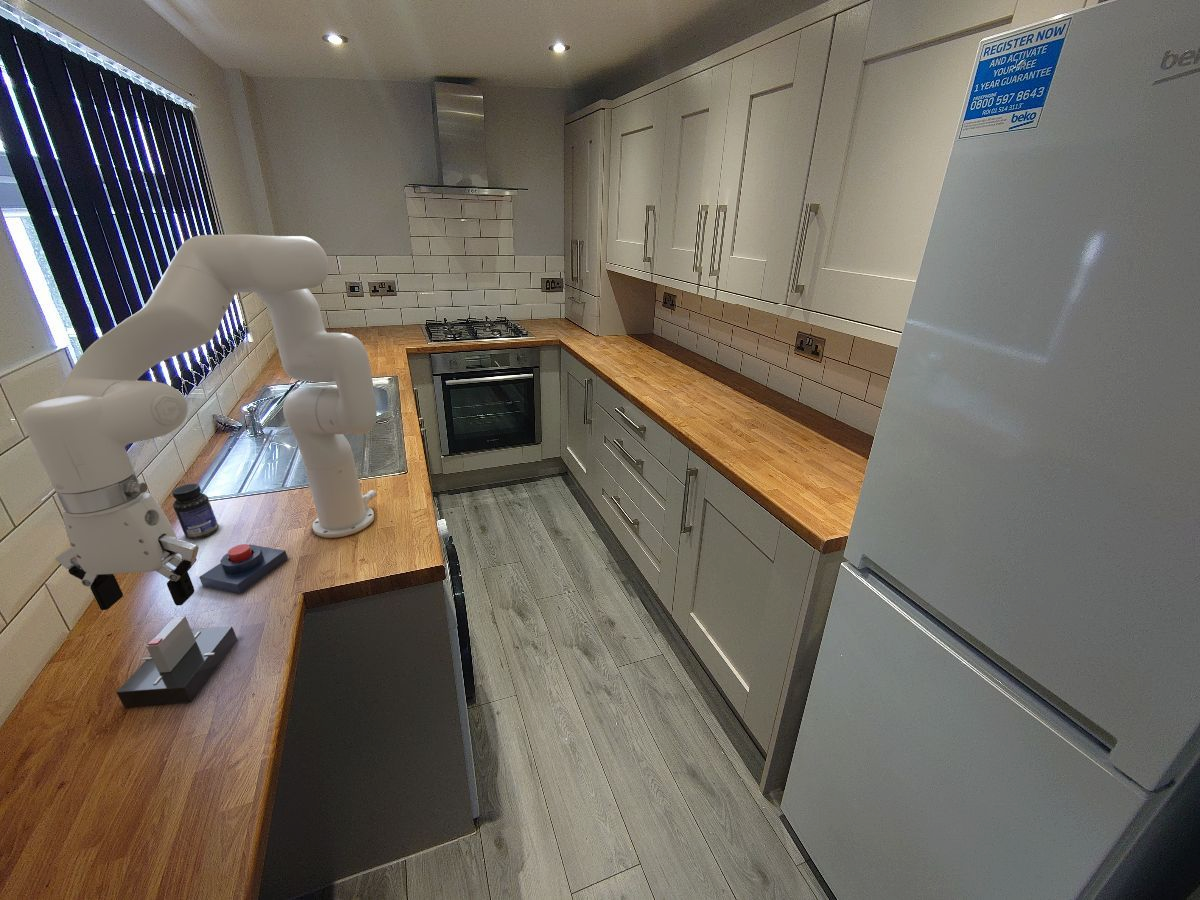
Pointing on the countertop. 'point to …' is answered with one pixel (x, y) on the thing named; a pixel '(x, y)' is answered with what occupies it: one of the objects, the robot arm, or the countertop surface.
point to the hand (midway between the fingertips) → (149, 601)
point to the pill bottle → (194, 512)
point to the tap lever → (171, 644)
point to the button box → (243, 570)
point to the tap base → (179, 671)
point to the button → (240, 553)
